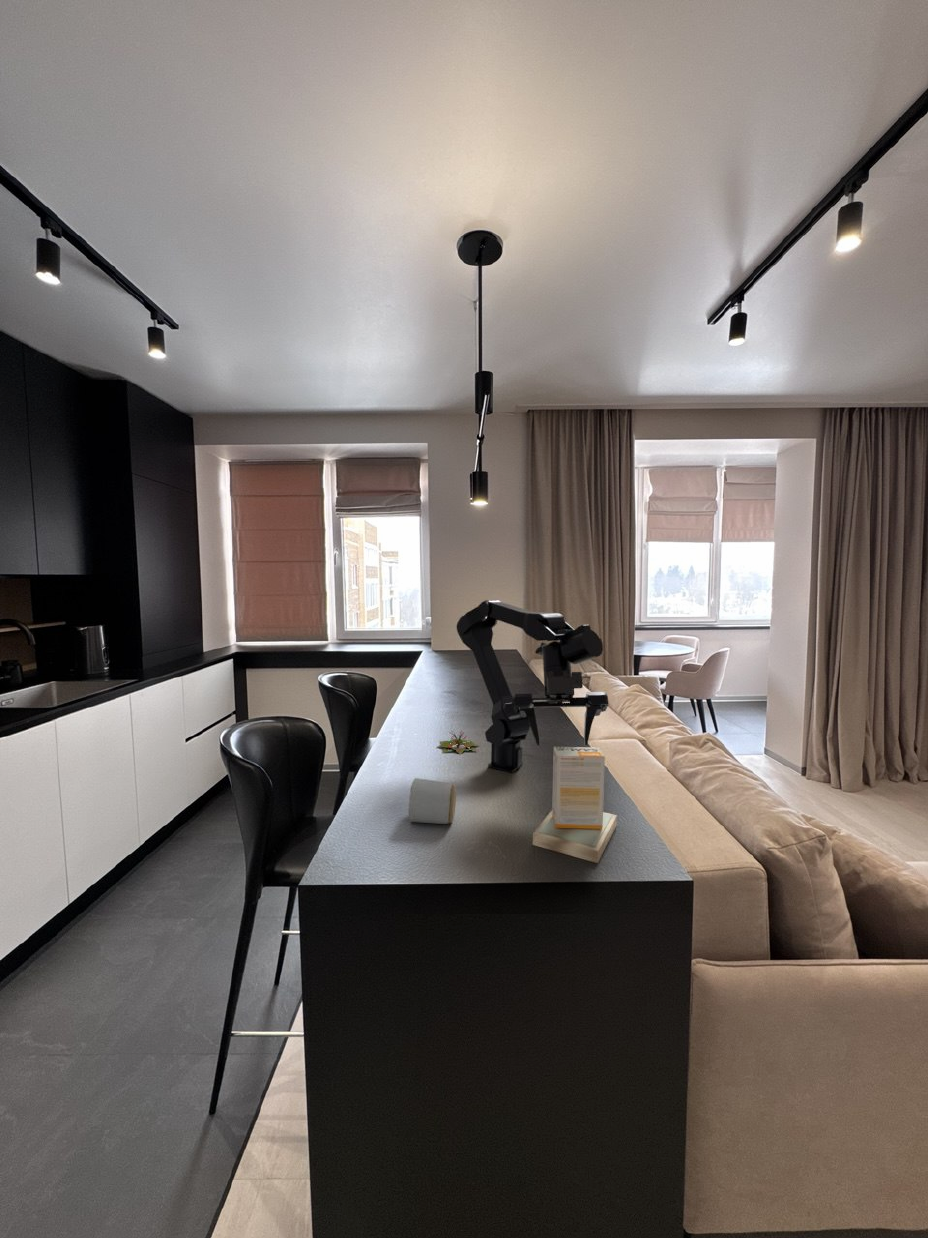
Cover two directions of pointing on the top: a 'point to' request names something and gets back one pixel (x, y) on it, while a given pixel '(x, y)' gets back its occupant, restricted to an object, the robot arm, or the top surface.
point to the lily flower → (457, 741)
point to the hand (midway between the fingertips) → (562, 745)
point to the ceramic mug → (432, 801)
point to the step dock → (575, 838)
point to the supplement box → (578, 787)
